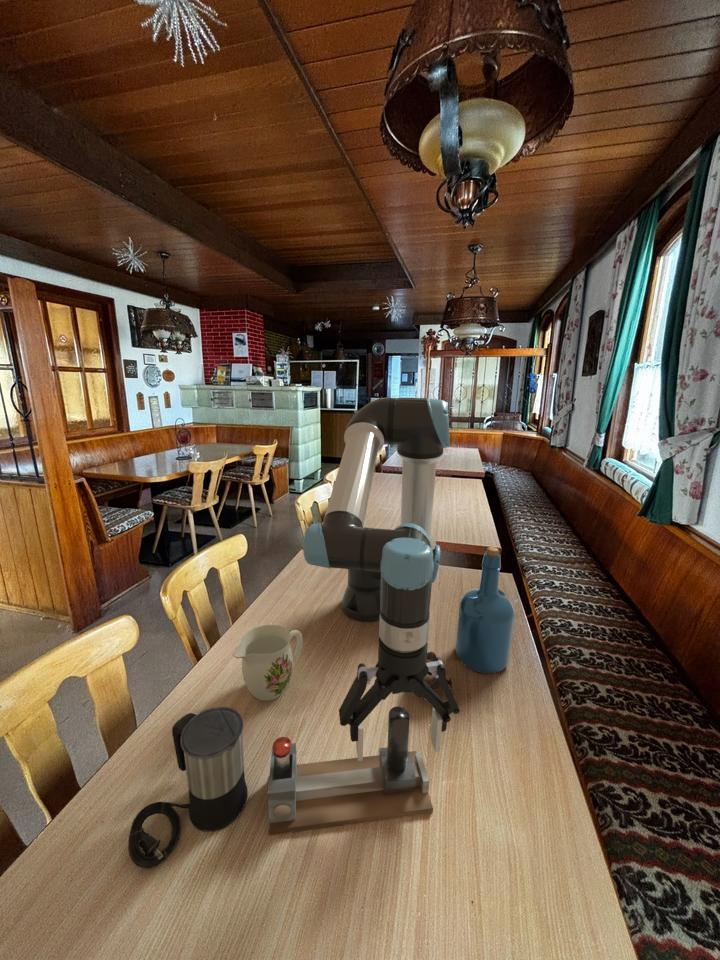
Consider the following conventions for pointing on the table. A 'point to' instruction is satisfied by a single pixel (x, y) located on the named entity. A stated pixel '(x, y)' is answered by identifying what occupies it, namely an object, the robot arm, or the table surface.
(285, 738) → the red ball knob
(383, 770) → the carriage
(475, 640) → the wine bottle
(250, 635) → the pitcher
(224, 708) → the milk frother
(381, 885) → the table surface
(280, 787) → the rail base
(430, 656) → the broken pottery
